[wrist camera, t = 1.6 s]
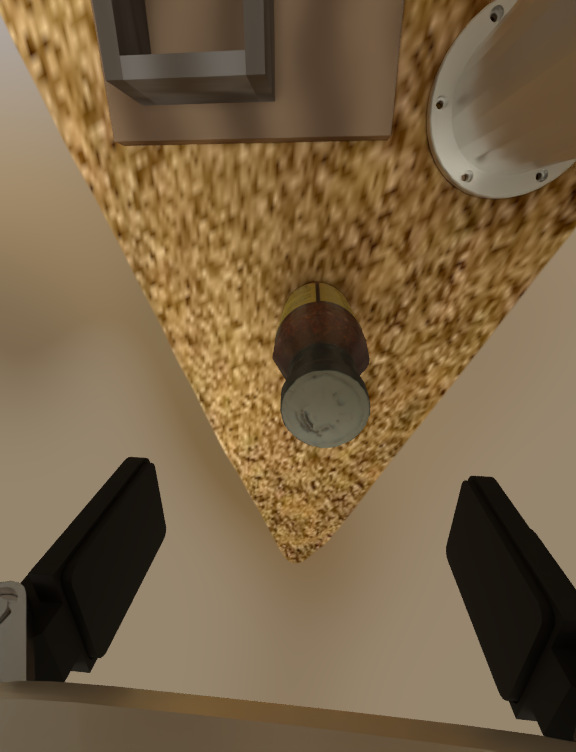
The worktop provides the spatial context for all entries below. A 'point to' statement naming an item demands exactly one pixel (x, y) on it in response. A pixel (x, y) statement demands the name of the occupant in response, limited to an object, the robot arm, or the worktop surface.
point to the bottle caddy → (248, 69)
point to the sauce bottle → (322, 367)
